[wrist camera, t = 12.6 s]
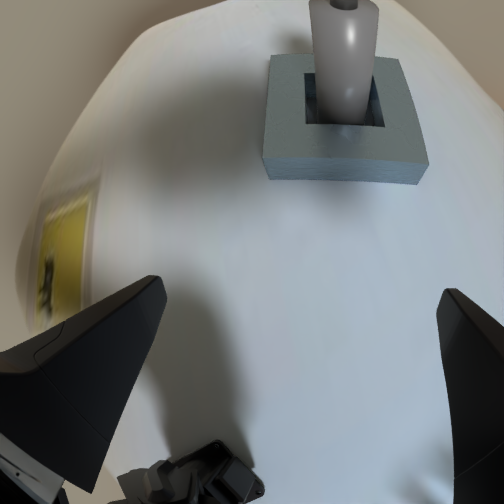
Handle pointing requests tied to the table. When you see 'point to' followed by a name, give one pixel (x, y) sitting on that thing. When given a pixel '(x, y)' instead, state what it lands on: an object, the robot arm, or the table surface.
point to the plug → (343, 58)
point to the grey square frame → (341, 129)
